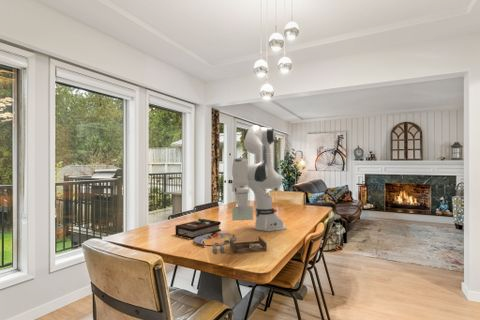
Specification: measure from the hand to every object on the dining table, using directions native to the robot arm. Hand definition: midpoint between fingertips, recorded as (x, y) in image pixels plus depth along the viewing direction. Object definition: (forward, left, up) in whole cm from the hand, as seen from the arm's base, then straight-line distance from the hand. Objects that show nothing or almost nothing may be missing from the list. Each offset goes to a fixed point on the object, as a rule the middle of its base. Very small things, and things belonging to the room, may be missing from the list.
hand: (240, 213), depth 147 cm
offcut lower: (-7, +5, -18) cm, 20 cm away
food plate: (+12, -19, -20) cm, 30 cm away
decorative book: (+20, -42, -20) cm, 50 cm away
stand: (+13, +3, -19) cm, 23 cm away
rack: (-3, +3, -19) cm, 20 cm away
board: (-1, 0, -3) cm, 3 cm away
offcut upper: (-7, +5, -17) cm, 19 cm away
